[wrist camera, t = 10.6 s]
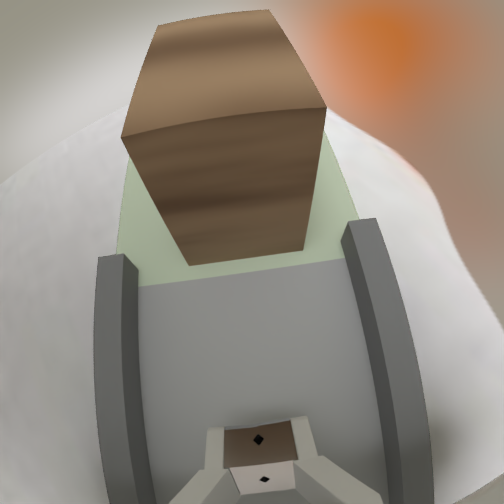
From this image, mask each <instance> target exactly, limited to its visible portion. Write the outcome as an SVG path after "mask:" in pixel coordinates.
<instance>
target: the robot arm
mask: <svg viewBox="0 0 504 504" xmlns="http://www.w3.org/2000/svg"><path fill="white" fill-rule="evenodd" d="M295 488H296V490H297V491H298V492H299V493H300V494H301V495H302V496H303V497H304V498H305V499H306V500H307V501H308V502H309V503H310V504H383V501H382V499H381V496H380V494H379V493H377V492H376V491H374V490H372V489H371V488H369V487H368V486H366V485H365V484H363V483H362V482H360V481H359V480H357V479H356V478H354V477H353V476H351V475H350V474H349V473H347V472H346V471H344V470H343V469H341V468H340V467H339V466H337V465H336V464H334V463H333V462H332V461H330V460H329V459H328V458H326V457H325V456H323V455H322V456H318V454H317V450H316V446H315V442H314V438H313V435H312V431H311V427H310V423H309V419H308V417H307V416H306V415H305V416H300V417H294V418H287V419H281V420H275V421H269V422H262V423H257V424H249V425H237V426H224V427H209V428H208V430H207V437H206V451H205V466H204V470H199V471H198V472H197V473H196V474H195V475H194V477H193V478H192V479H191V480H190V481H189V482H188V483H187V484H186V485H185V486H184V488H183V489H182V490H181V491H180V492H179V493H178V494H177V495H176V496H175V497H174V498H173V499H172V500H171V501H170V502H169V504H236V503H237V501H238V500H239V498H240V497H241V496H240V495H245V494H254V493H262V492H270V491H279V490H287V489H295ZM454 504H504V473H503V474H501V475H500V476H499V477H497V478H496V479H494V480H493V481H491V482H489V483H488V484H486V485H485V486H483V487H482V488H480V489H478V490H477V491H475V492H473V493H472V494H470V495H468V496H466V497H465V498H463V499H461V500H459V501H457V502H456V503H454Z"/></svg>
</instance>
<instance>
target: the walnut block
mask: <svg viewBox="0 0 504 504" xmlns="http://www.w3.org/2000/svg"><path fill="white" fill-rule="evenodd" d="M326 110H327V107H326V105H325V103H324V101H323V99H322V97H321V95H320V93H319V91H318V90H317V88H316V86H315V84H314V82H313V80H312V79H311V77H310V75H309V73H308V72H307V70H306V68H305V66H304V65H303V63H302V61H301V60H300V58H299V56H298V54H297V53H296V51H295V49H294V48H293V46H292V44H291V43H290V41H289V40H288V38H287V37H286V35H285V33H284V32H283V30H282V29H281V27H280V25H279V24H278V22H277V21H276V19H275V18H274V16H273V15H272V14H271V12H270V11H269V10H255V11H242V12H232V13H225V14H216V15H210V16H203V17H197V18H192V19H186V20H181V21H176V22H172V23H167V24H163V25H159V26H158V27H157V29H156V32H155V34H154V37H153V39H152V42H151V44H150V47H149V49H148V52H147V55H146V57H145V60H144V63H143V66H142V69H141V71H140V74H139V77H138V80H137V83H136V86H135V89H134V92H133V96H132V99H131V102H130V106H129V109H128V112H127V116H126V119H125V123H124V127H123V131H122V134H121V139H122V141H123V143H124V145H125V147H126V149H127V151H128V154H129V156H130V158H131V160H132V162H133V164H134V166H135V168H136V169H137V171H138V173H139V175H140V177H141V179H142V181H143V183H144V185H145V187H146V189H147V191H148V193H149V195H150V197H151V198H152V200H153V202H154V204H155V206H156V208H157V210H158V212H159V213H160V215H161V217H162V219H163V221H164V223H165V225H166V226H167V228H168V230H169V232H170V234H171V235H172V237H173V239H174V241H175V243H176V244H177V246H178V248H179V250H180V251H181V253H182V255H183V257H184V258H185V260H186V262H187V264H188V265H189V266H194V265H202V264H209V263H216V262H224V261H231V260H238V259H246V258H253V257H260V256H267V255H275V254H282V253H289V252H296V251H303V248H304V243H305V238H306V233H307V227H308V222H309V217H310V211H311V205H312V200H313V194H314V188H315V182H316V176H317V170H318V164H319V158H320V151H321V145H322V138H323V131H324V124H325V117H326Z"/></svg>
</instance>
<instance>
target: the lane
mask: <svg viewBox="0 0 504 504" xmlns="http://www.w3.org/2000/svg"><path fill="white" fill-rule="evenodd" d="M94 386H95V403H96V416H97V426H98V435H99V444H100V451H101V458H102V465H103V471H104V477H105V482H106V487H107V492H108V497H109V502H110V504H169V502H170V501H171V500H172V499H173V498H174V497H175V496H176V495H177V494H178V493H179V492H180V491H181V490H182V489H183V488H184V486H185V485H186V484H187V483H188V482H189V481H190V480H191V479H192V478H193V477H194V475H195V474H196V473H197V472H198V471H199V470H204V466H205V451H206V437H207V430H208V428H209V427H224V426H237V425H249V424H257V423H262V422H269V421H275V420H281V419H287V418H294V417H300V416H305V415H306V416H307V417H308V419H309V423H310V427H311V431H312V435H313V438H314V442H315V446H316V450H317V454H318V456H322V455H323V456H325V457H326V458H328V459H329V460H330V461H332V462H333V463H334V464H336V465H337V466H339V467H340V468H341V469H343V470H344V471H346V472H347V473H349V474H350V475H351V476H353V477H354V478H356V479H357V480H359V481H360V482H362V483H363V484H365V485H366V486H368V487H369V488H371V489H372V490H374V491H376V492H377V493H379V494H380V496H381V499H382V501H383V504H434V484H433V467H432V455H431V444H430V435H429V427H428V419H427V412H426V406H425V399H424V393H423V387H422V382H421V377H420V371H419V366H418V362H417V357H416V352H415V348H414V343H413V339H412V335H411V331H410V327H409V323H408V319H407V315H406V311H405V307H404V304H403V300H402V297H401V293H400V290H399V286H398V283H397V280H396V276H395V273H394V270H393V267H392V264H391V260H390V257H389V254H388V251H387V248H386V245H385V243H384V240H383V237H382V234H381V231H380V228H379V226H378V223H377V220H376V218H369V219H361V220H359V217H358V214H357V211H356V209H355V206H354V203H353V200H352V198H351V195H350V192H349V190H348V187H347V184H346V182H345V179H344V177H343V174H342V172H341V169H340V167H339V164H338V162H337V159H336V157H335V154H334V152H333V150H332V147H331V145H330V143H329V140H328V138H327V136H326V134H325V131H323V138H322V145H321V151H320V158H319V164H318V170H317V176H316V182H315V188H314V194H313V200H312V205H311V211H310V217H309V222H308V227H307V233H306V238H305V243H304V248H303V251H296V252H289V253H282V254H275V255H267V256H260V257H253V258H246V259H238V260H231V261H224V262H216V263H209V264H202V265H194V266H189V265H188V264H187V262H186V260H185V258H184V257H183V255H182V253H181V251H180V250H179V248H178V246H177V244H176V243H175V241H174V239H173V237H172V235H171V234H170V232H169V230H168V228H167V226H166V225H165V223H164V221H163V219H162V217H161V215H160V213H159V212H158V210H157V208H156V206H155V204H154V202H153V200H152V198H151V197H150V195H149V193H148V191H147V189H146V187H145V185H144V183H143V181H142V179H141V177H140V175H139V173H138V171H137V169H136V168H135V166H134V164H133V162H132V160H131V158H130V156H129V161H128V166H127V172H126V178H125V184H124V191H123V198H122V205H121V213H120V221H119V230H118V240H117V251H116V255H110V256H104V257H98V266H97V277H96V290H95V307H94ZM240 496H241V497H240V498H239V500H238V501H237V503H236V504H310V503H309V502H308V501H307V500H306V499H305V498H304V497H303V496H302V495H301V494H300V493H299V492H298V491H297V490H296V488H295V489H287V490H279V491H270V492H262V493H254V494H245V495H240Z"/></svg>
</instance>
